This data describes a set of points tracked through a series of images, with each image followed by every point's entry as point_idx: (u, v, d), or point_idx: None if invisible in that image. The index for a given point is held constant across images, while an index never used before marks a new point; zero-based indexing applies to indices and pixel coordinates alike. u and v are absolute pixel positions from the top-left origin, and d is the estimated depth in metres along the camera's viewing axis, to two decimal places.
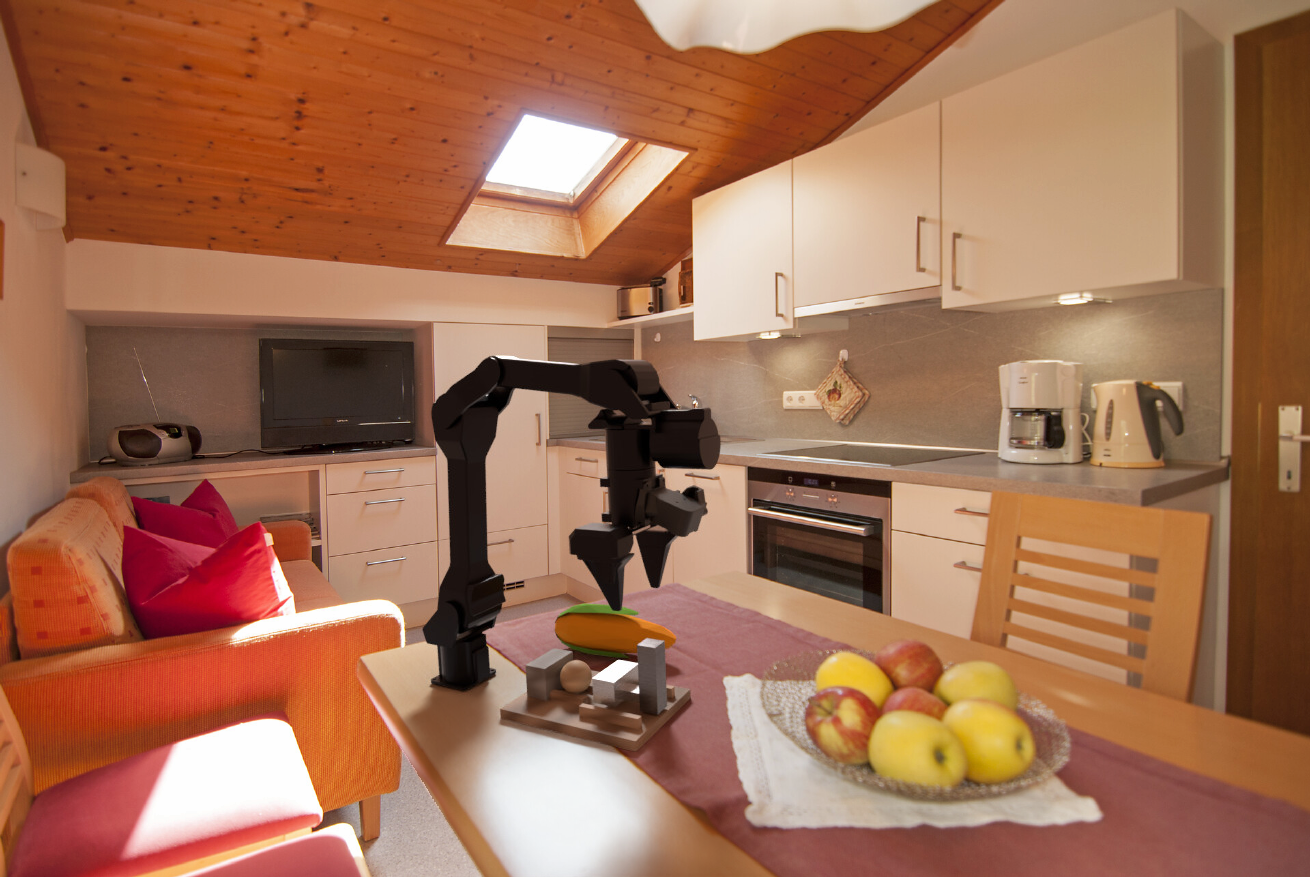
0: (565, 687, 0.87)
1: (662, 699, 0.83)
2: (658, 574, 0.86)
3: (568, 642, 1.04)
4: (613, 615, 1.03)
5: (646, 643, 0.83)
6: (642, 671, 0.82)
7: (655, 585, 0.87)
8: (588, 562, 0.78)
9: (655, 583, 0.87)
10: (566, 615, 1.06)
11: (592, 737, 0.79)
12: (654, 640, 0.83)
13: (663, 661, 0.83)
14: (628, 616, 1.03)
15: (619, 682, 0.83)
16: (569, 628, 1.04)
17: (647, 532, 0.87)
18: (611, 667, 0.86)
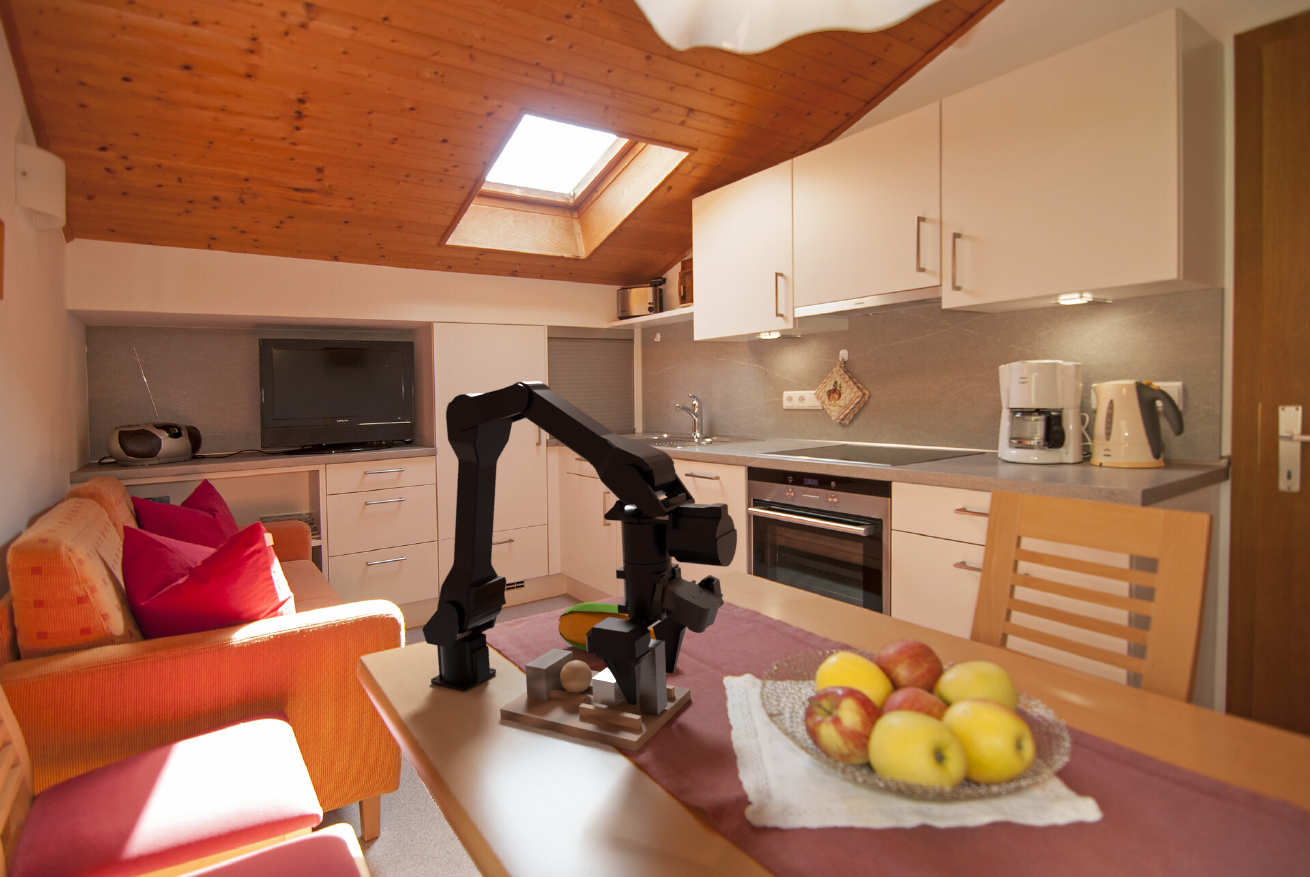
0: (565, 687, 0.87)
1: (662, 699, 0.83)
2: (673, 660, 0.87)
3: (571, 640, 1.05)
4: (615, 614, 1.04)
5: None
6: (642, 671, 0.82)
7: (670, 670, 0.87)
8: (605, 657, 0.78)
9: (670, 668, 0.87)
10: (569, 613, 1.06)
11: (592, 737, 0.79)
12: (654, 640, 0.83)
13: (663, 661, 0.83)
14: None
15: None
16: (572, 627, 1.04)
17: None
18: None
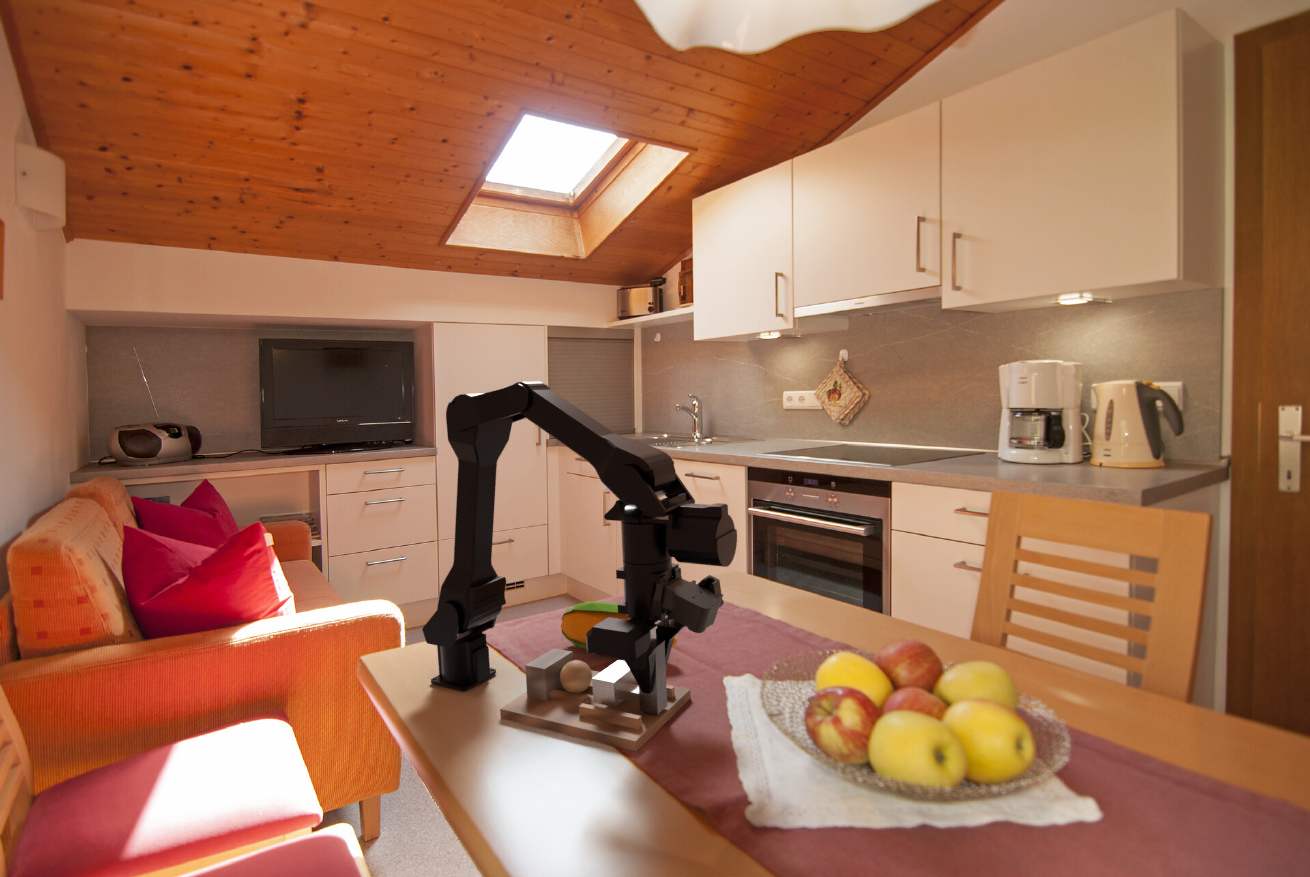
0: (565, 687, 0.87)
1: (662, 699, 0.83)
2: None
3: (573, 639, 1.05)
4: (616, 614, 1.04)
5: None
6: None
7: None
8: None
9: None
10: (572, 612, 1.07)
11: (592, 737, 0.79)
12: None
13: (663, 661, 0.83)
14: None
15: (619, 682, 0.83)
16: (574, 626, 1.05)
17: None
18: (611, 667, 0.86)
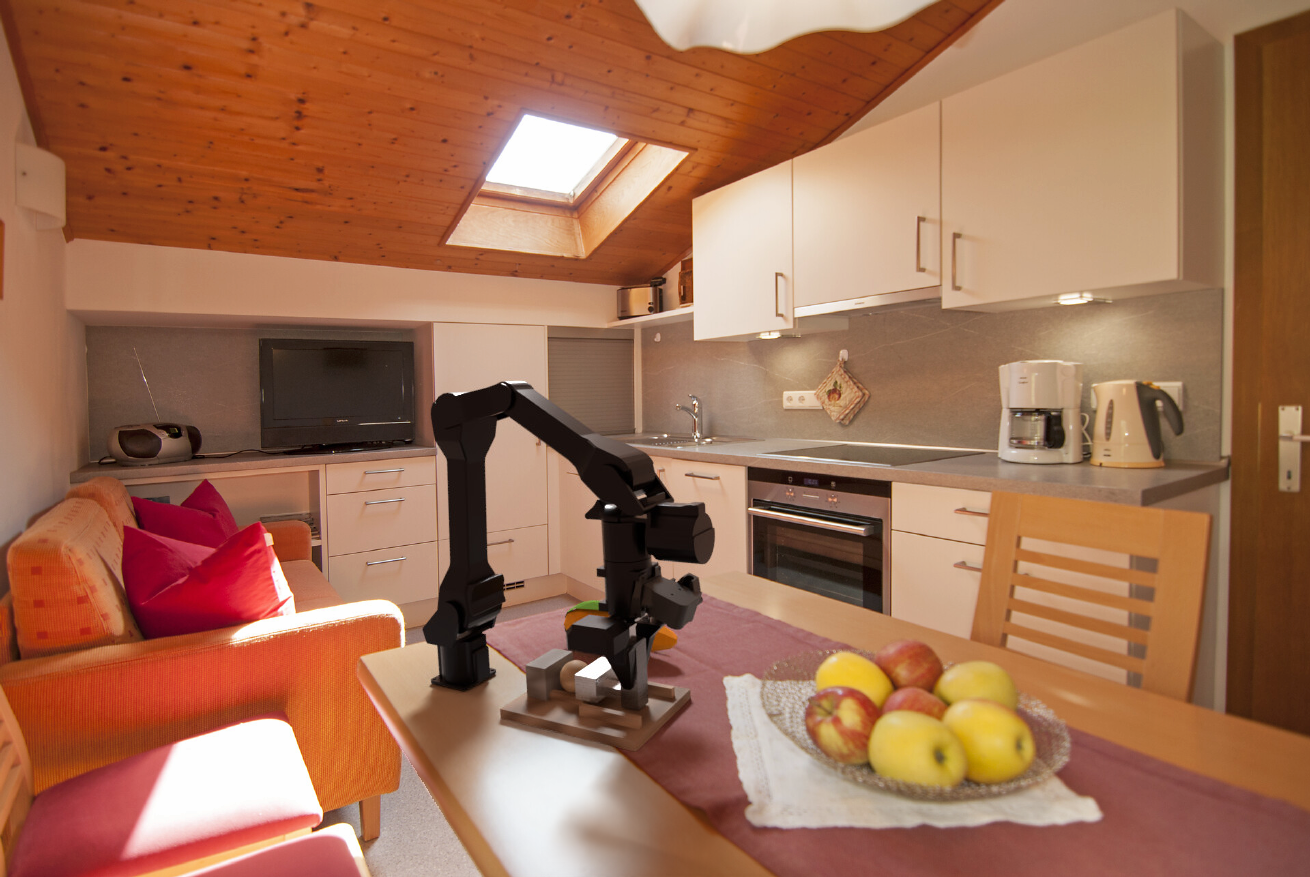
0: (565, 687, 0.87)
1: (643, 695, 0.84)
2: None
3: None
4: None
5: None
6: None
7: None
8: None
9: None
10: (574, 611, 1.07)
11: (592, 737, 0.79)
12: None
13: (645, 658, 0.84)
14: None
15: (601, 678, 0.84)
16: None
17: None
18: (594, 664, 0.88)
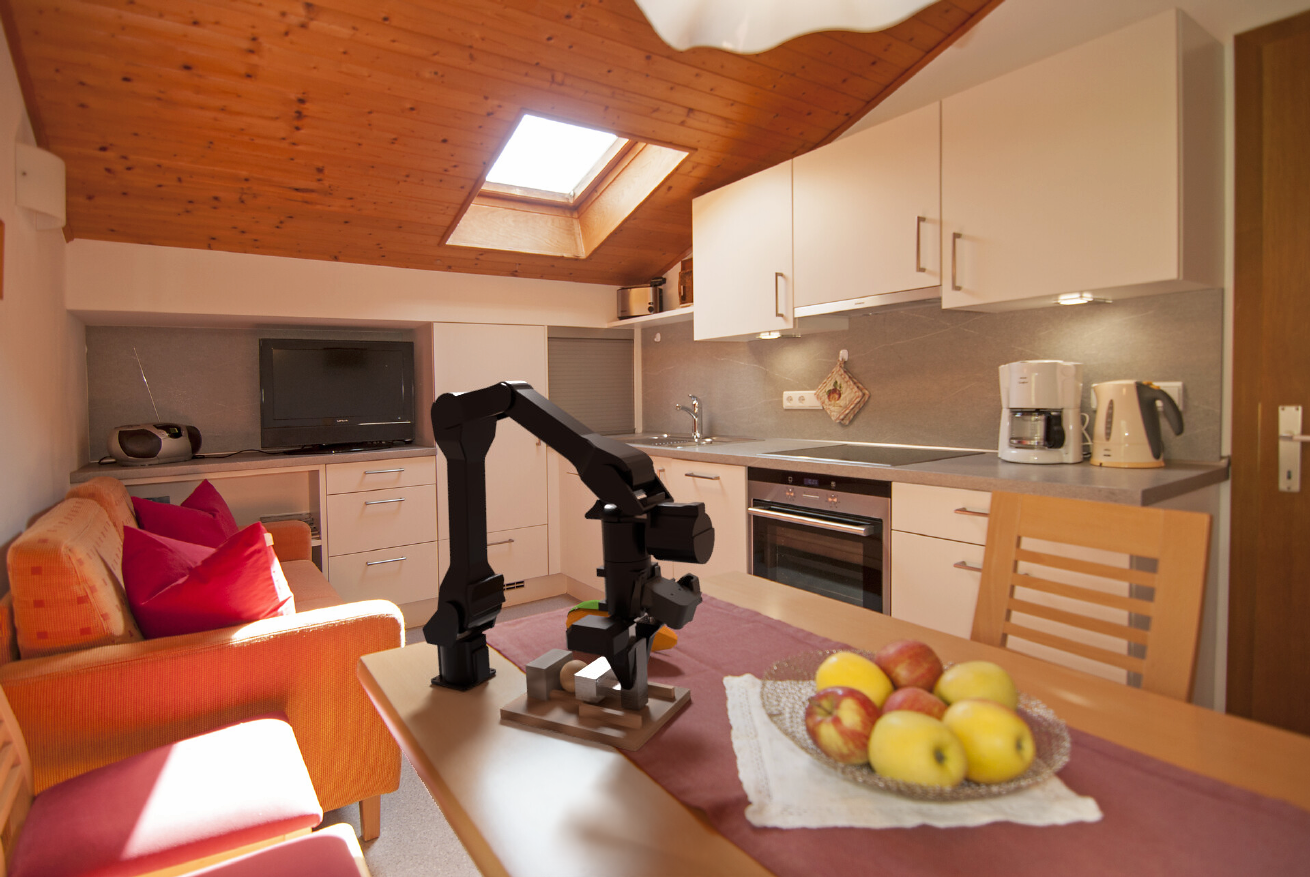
0: (565, 687, 0.87)
1: (643, 695, 0.84)
2: None
3: None
4: None
5: None
6: None
7: None
8: None
9: None
10: (576, 610, 1.08)
11: (592, 737, 0.79)
12: None
13: (645, 658, 0.84)
14: None
15: (601, 678, 0.84)
16: None
17: None
18: (594, 664, 0.88)
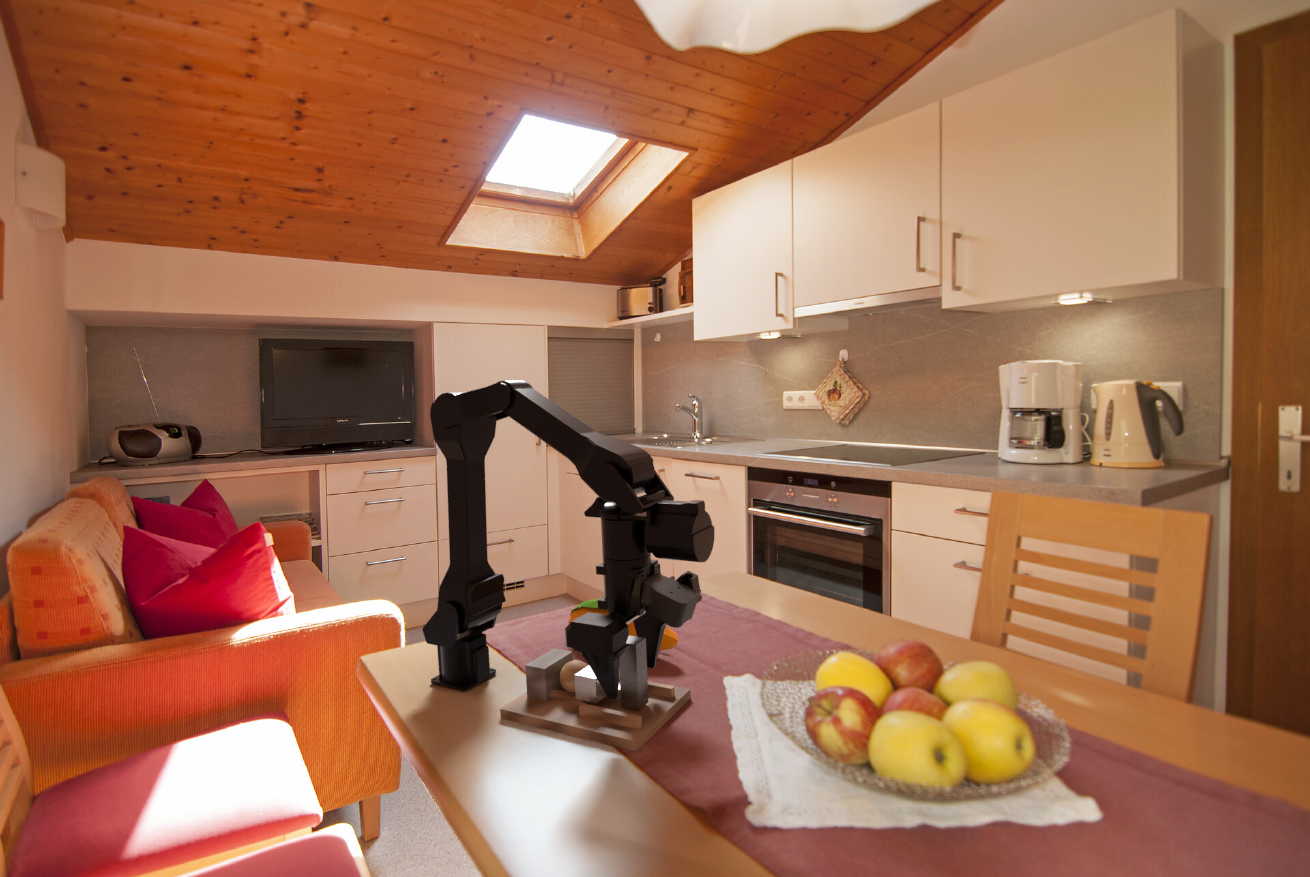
0: (565, 687, 0.87)
1: (643, 695, 0.84)
2: (653, 655, 0.88)
3: None
4: None
5: (627, 640, 0.84)
6: (624, 667, 0.83)
7: (650, 665, 0.88)
8: None
9: (650, 663, 0.88)
10: (579, 609, 1.08)
11: (592, 737, 0.79)
12: (635, 637, 0.85)
13: (645, 658, 0.84)
14: None
15: None
16: None
17: None
18: None
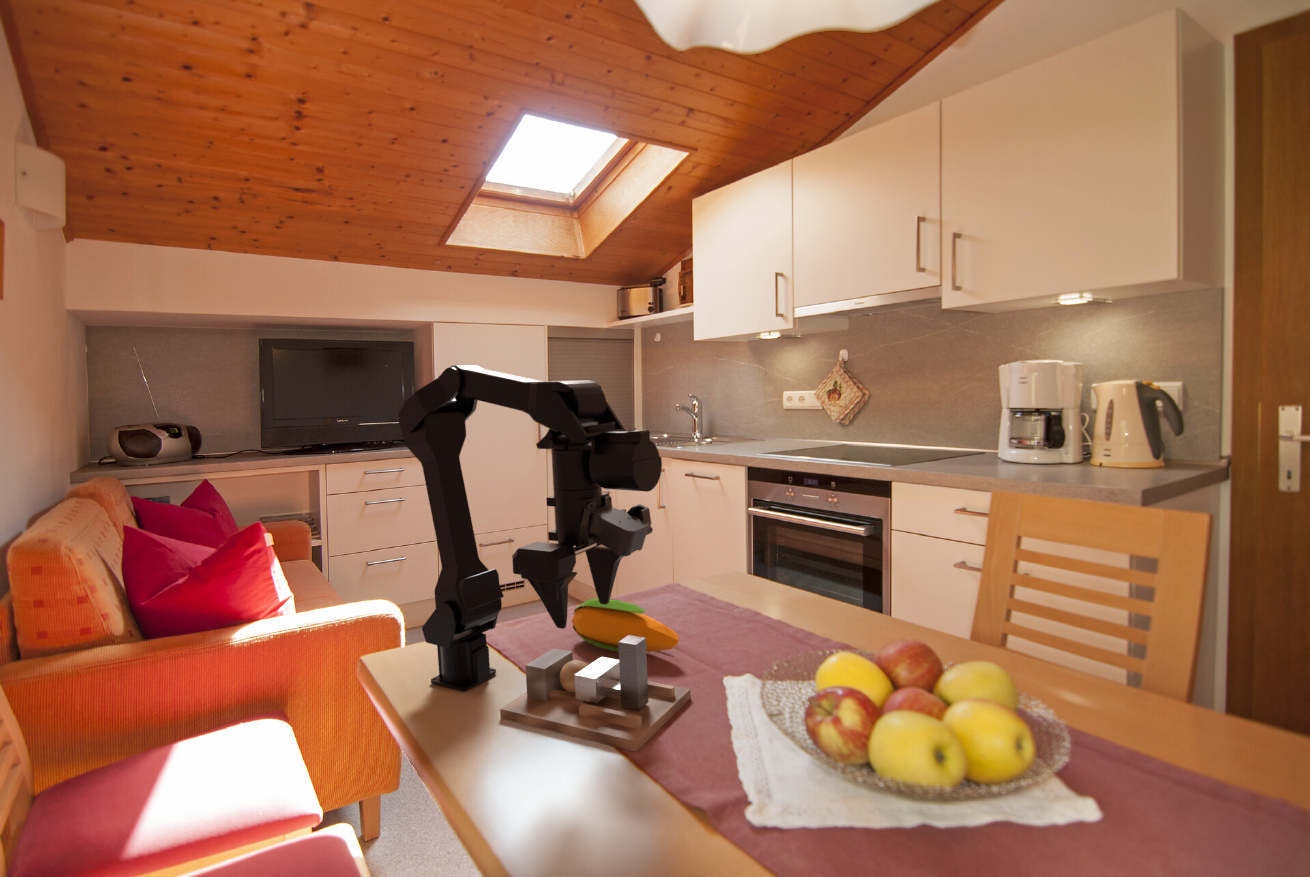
0: (565, 687, 0.87)
1: (643, 695, 0.84)
2: (607, 590, 0.88)
3: (581, 634, 1.07)
4: (622, 611, 1.05)
5: (627, 640, 0.84)
6: (624, 667, 0.83)
7: (604, 601, 0.88)
8: (532, 580, 0.79)
9: (604, 599, 0.88)
10: (582, 608, 1.09)
11: (592, 737, 0.79)
12: (635, 637, 0.85)
13: (645, 658, 0.84)
14: (636, 613, 1.04)
15: (601, 678, 0.84)
16: (582, 621, 1.07)
17: (596, 549, 0.89)
18: (594, 664, 0.88)
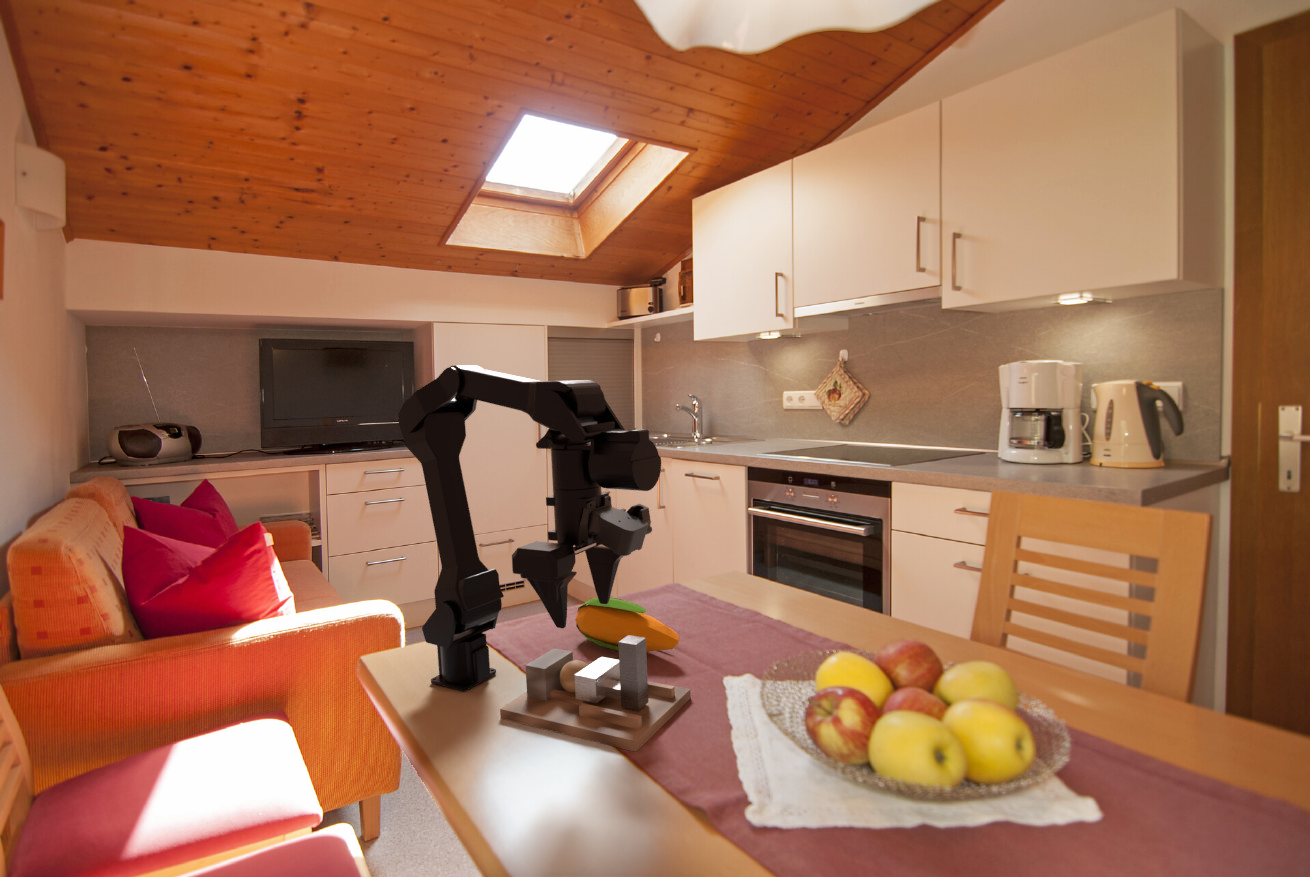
0: (565, 687, 0.87)
1: (643, 695, 0.84)
2: (606, 590, 0.88)
3: (584, 633, 1.08)
4: (624, 611, 1.05)
5: (627, 640, 0.84)
6: (624, 667, 0.83)
7: (604, 601, 0.88)
8: (532, 580, 0.79)
9: (604, 599, 0.88)
10: (585, 606, 1.09)
11: (592, 737, 0.79)
12: (635, 637, 0.85)
13: (645, 658, 0.84)
14: (638, 613, 1.04)
15: (601, 678, 0.84)
16: (584, 620, 1.07)
17: (596, 549, 0.89)
18: (594, 664, 0.88)
